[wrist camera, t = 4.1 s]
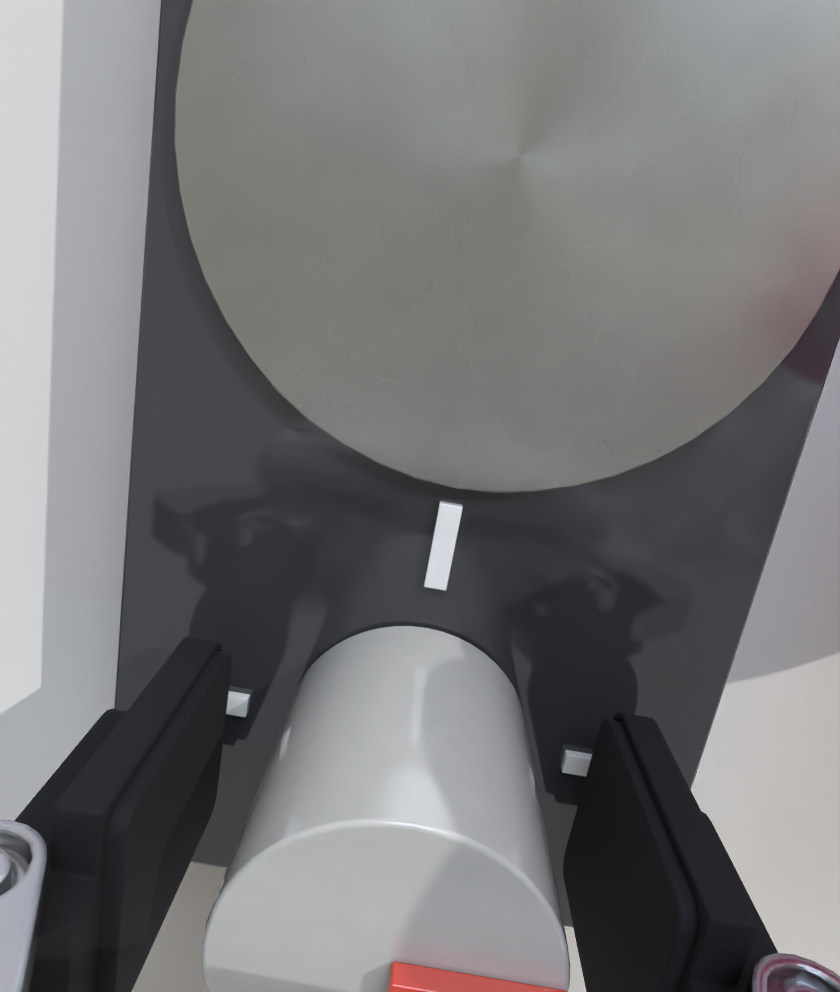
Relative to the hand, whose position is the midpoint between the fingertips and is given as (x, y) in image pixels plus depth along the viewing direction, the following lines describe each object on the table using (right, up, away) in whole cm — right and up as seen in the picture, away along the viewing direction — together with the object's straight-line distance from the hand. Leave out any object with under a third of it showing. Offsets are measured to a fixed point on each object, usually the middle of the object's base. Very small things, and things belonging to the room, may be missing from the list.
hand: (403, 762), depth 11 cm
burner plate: (+2, +9, -2) cm, 9 cm away
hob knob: (0, 0, +1) cm, 1 cm away
